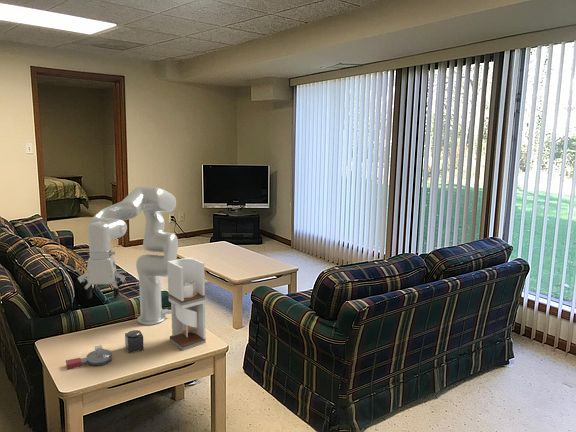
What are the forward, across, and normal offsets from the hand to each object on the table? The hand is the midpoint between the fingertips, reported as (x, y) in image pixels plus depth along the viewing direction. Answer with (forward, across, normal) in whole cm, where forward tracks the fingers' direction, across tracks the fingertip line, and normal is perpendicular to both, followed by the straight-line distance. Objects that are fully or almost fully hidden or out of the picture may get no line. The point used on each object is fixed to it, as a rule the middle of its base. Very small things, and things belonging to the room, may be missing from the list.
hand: (103, 297), depth 176 cm
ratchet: (+24, +5, +5) cm, 25 cm away
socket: (+24, -10, -6) cm, 27 cm away
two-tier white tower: (+25, -30, -11) cm, 40 cm away
